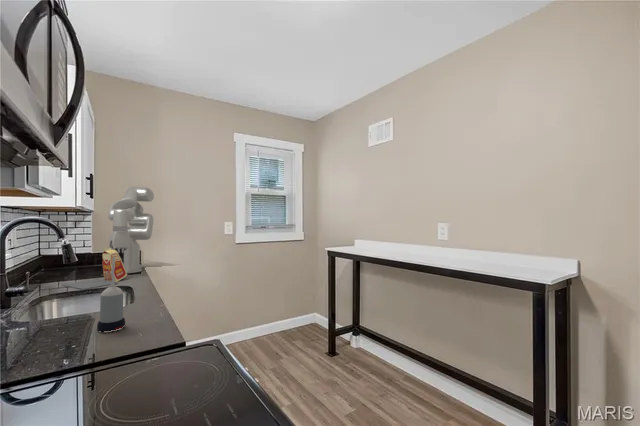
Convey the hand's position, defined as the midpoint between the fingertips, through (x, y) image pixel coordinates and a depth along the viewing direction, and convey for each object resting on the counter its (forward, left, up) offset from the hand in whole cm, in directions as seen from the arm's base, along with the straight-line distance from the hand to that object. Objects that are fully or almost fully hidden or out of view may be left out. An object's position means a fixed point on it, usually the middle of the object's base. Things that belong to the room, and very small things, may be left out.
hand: (119, 259), depth 191 cm
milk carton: (+1, 0, -11) cm, 11 cm away
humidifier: (+51, +80, -13) cm, 95 cm away
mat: (+15, 0, -12) cm, 20 cm away
